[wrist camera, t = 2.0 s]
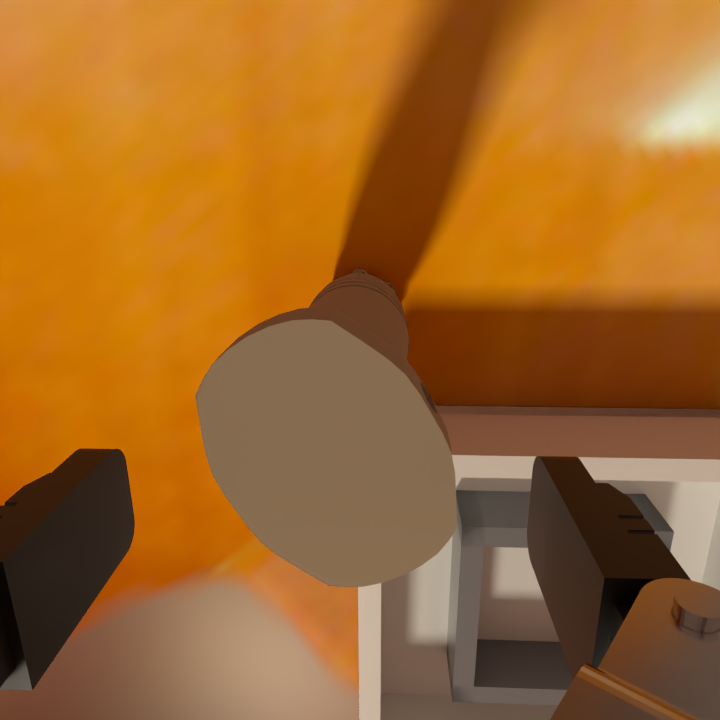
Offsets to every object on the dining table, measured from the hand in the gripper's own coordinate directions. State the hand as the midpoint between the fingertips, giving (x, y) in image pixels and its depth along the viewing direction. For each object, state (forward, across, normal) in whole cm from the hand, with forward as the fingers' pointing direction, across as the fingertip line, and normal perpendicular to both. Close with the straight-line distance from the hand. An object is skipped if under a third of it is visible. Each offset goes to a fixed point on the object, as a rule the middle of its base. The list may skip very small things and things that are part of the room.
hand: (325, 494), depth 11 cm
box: (+16, -9, +14) cm, 23 cm away
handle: (+16, 0, 0) cm, 16 cm away
